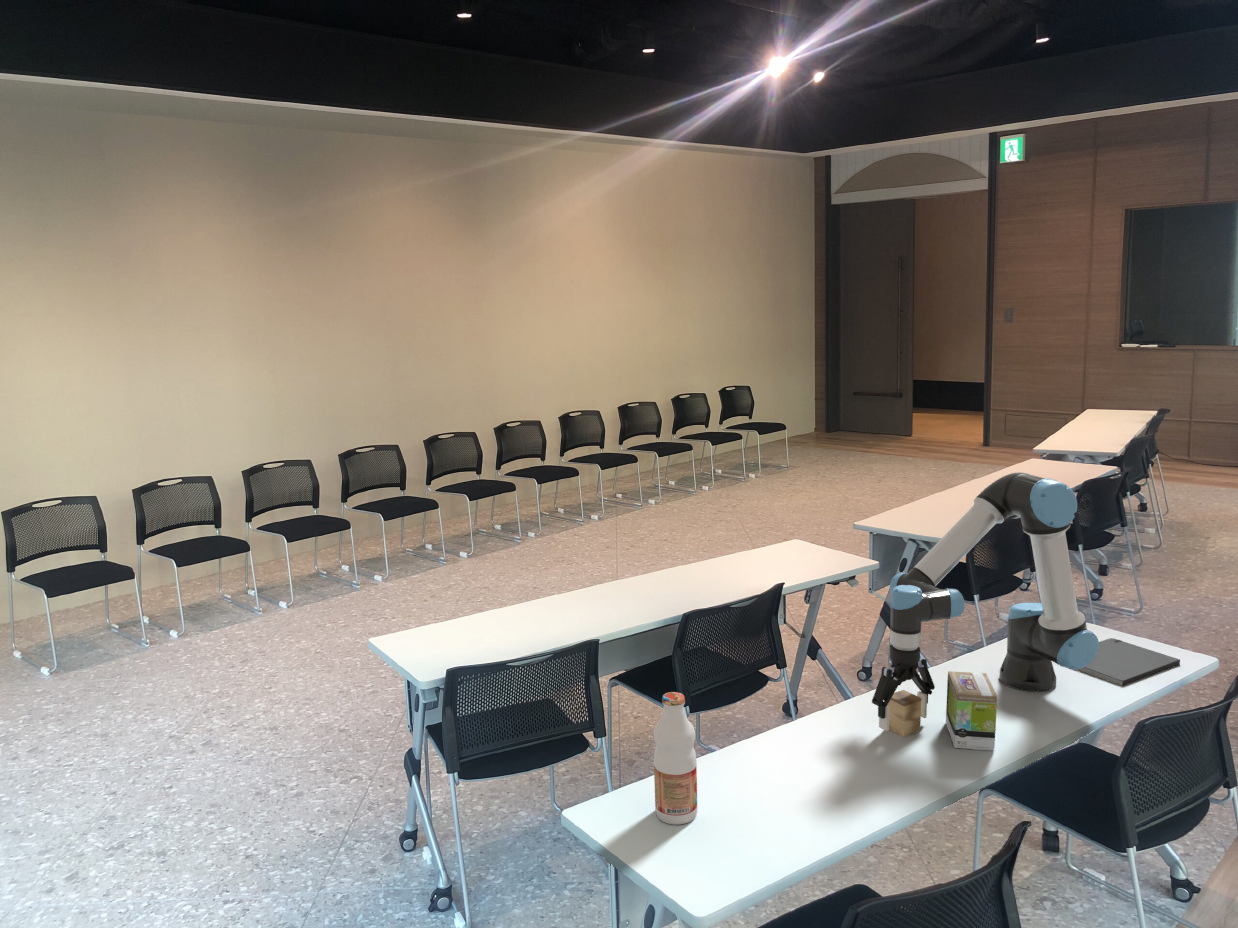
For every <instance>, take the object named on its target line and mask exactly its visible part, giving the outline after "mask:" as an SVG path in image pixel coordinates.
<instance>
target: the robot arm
mask: <svg viewBox="0 0 1238 928" xmlns="http://www.w3.org/2000/svg"><path fill="white" fill-rule="evenodd" d="M973 504H974V505H973V506H971V507H970V508H969V510H968V511H966V513H964V515H963V516H962V517H961V518H960V519H959V520H958V521H957V522H956V523H954V525H953V526H952V527H951V528H950V529H949V530H948V531H947V532H946V533H945V534H944V535H943V536H942V537H941V538H940V540H938V541H937V543H935V545H934V546H932V548H931V549H930V550H929V551H928V552H927V553H926V554H924V556H923V557H922V558H921V559H920V560H919V561H918V562H917V563H916V564H915V565H914V566H913V568H912V569H910V570H909V572H899V573H897V574H894V576H892V578H891V579H890V581H889V592H890V594H891V596H890V605H889V606H890V630H889V631H890V634H889V635H890V636H889V643H890V644H889V659H890V661H891V666H890V667H886V666H883V667H882V668H881V673H880V677H879V681H878V684H877V686H876V689H875V691H874V694H873V697H872V700H871V703H872V704H874V705H875V706H877V717H878V728H880V729H881V730H884V732H885V731H886V732H889V731H890V729H889V706H887V705H888V703H889V701H890V699H891V698H892V696H893V694H894V693H895V692H897V691H896V690H897V689H898V688H899V686H901V684H902V683H904V682H906V681H913V683H914V684H915V686H916V687H917V688H918V689H919V690H918V691H917V693H916V696H918V697H920V698H921V718H922V719H926V718H927V712H928V711H927V708H928V703H929V695H932V694H933V690H935V689H936V687H935V683H934V681H933V679H932V676H931V673H930V670H929V668H928V664H927V663H928V660H927V659H926V658H924V657H921V647H920V646H921V643H922V642H921V641H922V640H921V639H922V637H921V636H922V634H921V633H922V632H921V631H922V623H926V622H932V621H933V622H934V621H940V620H950V619H953V618H954V619H955V618H958V617H960V616H961V615H962V614H963V613H964V611H965V599H964V596H963V594H962V593H961V592H960V591H959V589H956V588H948V587H946V588H944V589H941V588H938V587H937V585H938V584H939V583H940V582H941V581H942V580H943V579H944V578H945V577H946V576H947V574H949V573H950V572H951V570H953V569H954V568H955V567H956V566H957V565H958V564H959V562H961V561H962V559H963V558H964V557H965V556H966V555H967V554H968V553H969V552H970V551H971V550H972V549H973V548H974V547H975V546H976V545H977V544H978V543H979V542H980V541H981V539H983V538H984V537H985V535H987V534H988V533H989V531H990V530H992V528H994V527H995V525H997V524H1002V523H1003V522H1005V521H1006V519H1008V518H1009V517H1011V516H1016V517H1019V518H1020V522H1021V525H1022V531H1023V533H1025V534H1027V535H1028V536H1029V538H1030V543H1031V547H1032V554H1033V560H1034V567H1035V572H1036V579H1037V584H1038V585H1037V586H1038V590H1039V595H1040V596H1039V597H1040V602H1021V603H1016V604H1015V603H1014V604H1013V605H1012V606H1010V607H1009V609H1008V617H1007V633H1006V634H1007V635H1006V636H1007V639H1006V640H1007V641H1006V644H1007V645H1006V654H1005V657H1004V659H1003V661H1002V663H1001V666H1000V668H999V677H998V678H999V681H1001V682H1002V684H1004V685H1006V686H1007V687H1008V686H1009V687H1011V688H1013V689H1017V690H1021V691H1027V692H1045V691H1051V690H1052V689H1055V687H1056V686H1057V674H1056V673H1055V668H1054V665H1053V663H1055V664H1057V665H1058V666H1060V667H1064V668H1067V669H1069V670H1072V671H1073V670H1074V671H1076V670H1077V671H1079V670H1078V669H1082V668H1084V667H1086V666H1087V665H1088V664H1090V663H1091V662H1092V660H1093V658H1094V657H1095V656H1096V654H1097V652H1098V648H1099V642H1100V641H1099V638H1098V636H1097V635H1096V634H1095V633H1094V632H1093V631H1091V630H1088V626H1087V622H1086V616H1085V615H1084V613H1082V612H1081V611H1080V610H1079V609H1078V604H1077V599H1076V598H1077V596H1076V592H1075V591H1076V590H1075V585H1074V580H1073V579H1074V578H1073V572H1072V567H1071V560H1070V553H1069V548H1068V540H1067V535H1066V532H1067V531H1068V530H1069V529H1070V528H1071V522H1072V521H1073V520H1074V519H1075V517H1076V516H1075V513H1077V511H1078V500H1077V496H1076V494H1075V493H1074V491H1073V489H1072V487H1070V486H1068V485H1067V484H1065V483H1063V482H1061V481H1059V480H1056V479H1054V478H1046V477H1042V476H1037V475H1033V474H1029V473H1026V472H1013V473H1012V472H1011V473H1008V474H1006V475H1004V476H1001V477H1000V478H998V479H997V480H994V481H993V482H991V484H989V485H988V486H987V487H985V488H984V489H983V490H981V492H980V493H979V494H977V496H976V497H975V498H974V499H973ZM917 670H918V671H917Z"/></svg>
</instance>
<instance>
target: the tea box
mask: <svg viewBox="0 0 1238 928" xmlns="http://www.w3.org/2000/svg"><path fill="white" fill-rule="evenodd" d="M946 682H947V684H946V685H947V687H946V688H947V689H946V706H945V707H946V709H945V723H946V726H947V730H948V732H949V735H950V736H949V737H950V739H951V742H952V746H953V747H954V748H955V749H964V750H979V751H995V746H996V729H997V727H996V726H997V712H998V711H997V709H998V708H997V707H998V694H997V693H996V691H995V688H994V687H993V684H992V682H991V680H990V678H989V676H988V675H987V672H985V673H984V672H969V671H966V672H965V671H951V670H950V671H947V681H946Z"/></svg>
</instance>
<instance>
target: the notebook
mask: <svg viewBox="0 0 1238 928" xmlns="http://www.w3.org/2000/svg"><path fill="white" fill-rule="evenodd" d="M1180 664H1181V659H1180V658H1177V657H1173V656H1170V655H1167V654H1164V653H1161V652H1158V651H1155V650H1151V649H1148V648H1145V647H1142V646H1140V645H1137V644H1133V643H1130V642H1126V641H1123V640H1121V639H1116V638H1112V637H1110V638H1107V639H1104V640H1101V641H1099V648H1098V652H1097V654H1096V656H1095V657H1094V658H1093V660H1092V662H1091V663H1090V664H1088V665H1087V666H1086V667H1084V668H1082V669H1078V670H1077V671H1081V672H1082V673H1086V674H1088V675H1091V676H1095V677H1096V678H1100V679H1102V680H1105V681H1108V682H1110V683H1113V684H1116V685H1118V686H1122V687H1124V686H1126V685H1130V684H1132V683H1135V682H1137V681H1138V682H1139V681H1140V680H1143V679H1145V678H1146V679H1147V678H1148V677H1151V676H1154V675H1157V674H1159V673H1161V672H1164V671H1166V670H1169V669H1172V668H1176V667H1177V666H1180Z"/></svg>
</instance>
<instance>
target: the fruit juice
mask: <svg viewBox="0 0 1238 928" xmlns="http://www.w3.org/2000/svg"><path fill="white" fill-rule="evenodd" d="M661 701H662V702H661V703H662V705H663V708H662V709H663V710H662V713H661V715H660V719H659V720H658V722H657V724H656V725H655V727H654V729H653V739H654V743H655V749H654V753H653V773H654V774H653V775H654V777H653V779H654V806H655V807H654V809H655V815H656V817H657V818H658V820H659V821H661V822H663V823H666V824H668V825H677V826H678V825H680V826H681V825H684V824H688V823H690V822H692V821H693V820H695V819H696V817H697V813H698V779H697V778H698V776H697V773H698V772H697V768H698V767H697V753H696V750H695V748H694V744H695V740H696V732H695V728H694V725H693V724H692V722H691V721H689V719H688V717H687V715H686V711H685V707H684V705H685V703H686V699H685V695H684V694H683V693H681V692H678V691H670V692H666V693H664V694H662V698H661Z"/></svg>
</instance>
